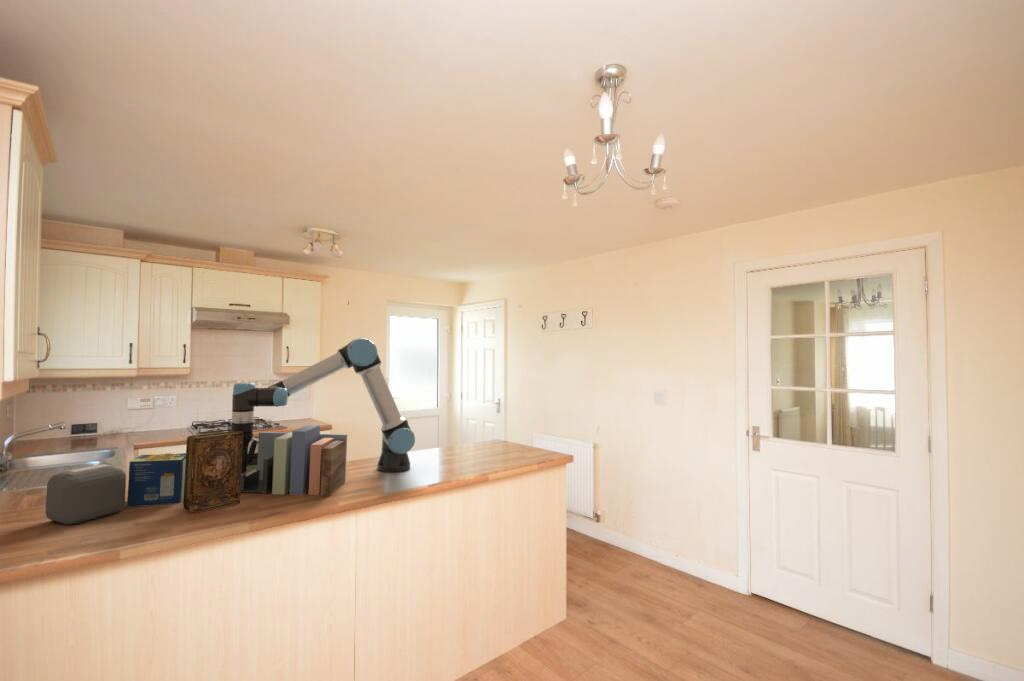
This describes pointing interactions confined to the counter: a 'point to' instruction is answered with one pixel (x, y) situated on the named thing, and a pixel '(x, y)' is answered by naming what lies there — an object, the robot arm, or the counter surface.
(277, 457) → the green book
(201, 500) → the book
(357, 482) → the counter surface
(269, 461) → the bookend
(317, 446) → the terracotta book
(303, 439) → the navy book
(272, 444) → the back rail
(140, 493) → the protein box
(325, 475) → the end stop
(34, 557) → the counter surface
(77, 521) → the grey rounded-edge box
